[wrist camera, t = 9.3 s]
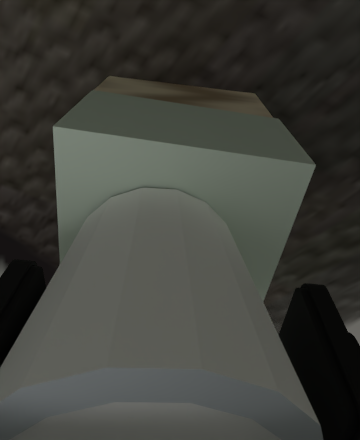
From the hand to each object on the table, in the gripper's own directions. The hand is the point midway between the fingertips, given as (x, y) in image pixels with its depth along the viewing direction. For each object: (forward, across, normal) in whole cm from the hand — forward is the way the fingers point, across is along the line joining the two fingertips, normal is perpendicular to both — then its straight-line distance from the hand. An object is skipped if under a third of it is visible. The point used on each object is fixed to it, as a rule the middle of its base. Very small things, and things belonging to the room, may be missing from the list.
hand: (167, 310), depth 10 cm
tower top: (+8, 0, 0) cm, 8 cm away
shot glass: (+3, +1, 0) cm, 3 cm away
